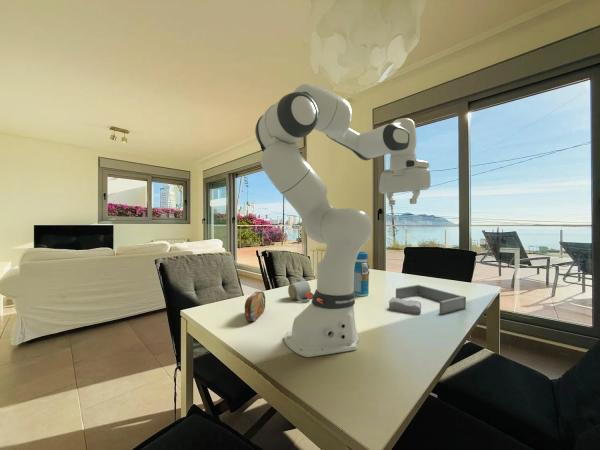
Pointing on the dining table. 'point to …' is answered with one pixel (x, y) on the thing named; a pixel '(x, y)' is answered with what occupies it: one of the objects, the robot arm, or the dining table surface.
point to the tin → (254, 306)
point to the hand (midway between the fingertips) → (402, 204)
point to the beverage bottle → (361, 275)
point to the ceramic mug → (299, 291)
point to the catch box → (434, 297)
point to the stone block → (405, 305)
